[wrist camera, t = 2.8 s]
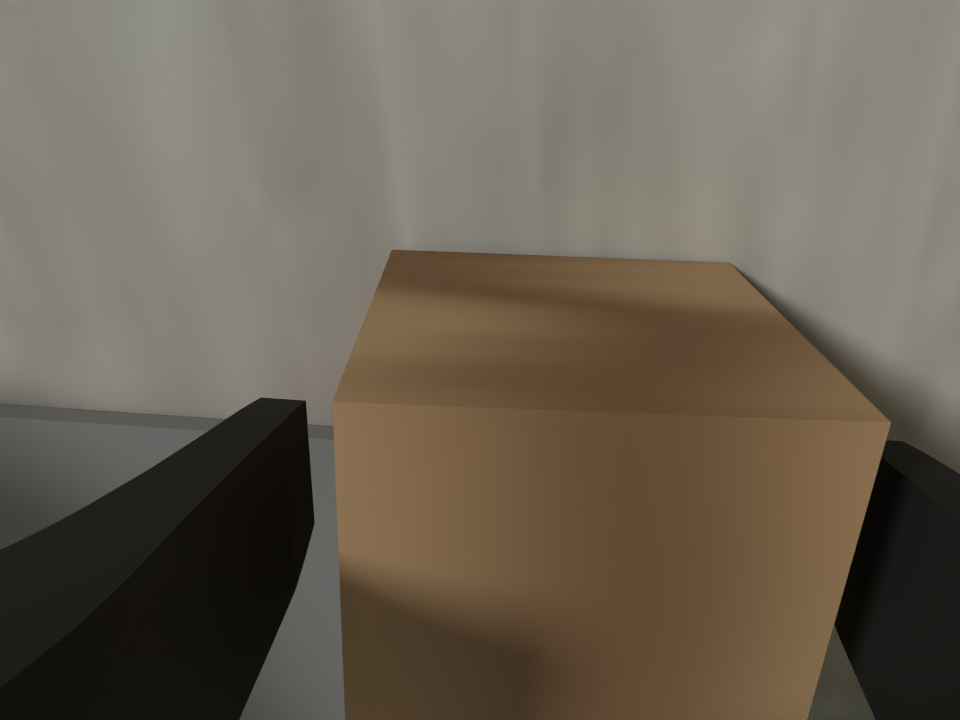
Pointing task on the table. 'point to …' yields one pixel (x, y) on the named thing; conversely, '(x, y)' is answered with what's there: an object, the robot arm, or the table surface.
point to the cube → (590, 493)
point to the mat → (133, 450)
